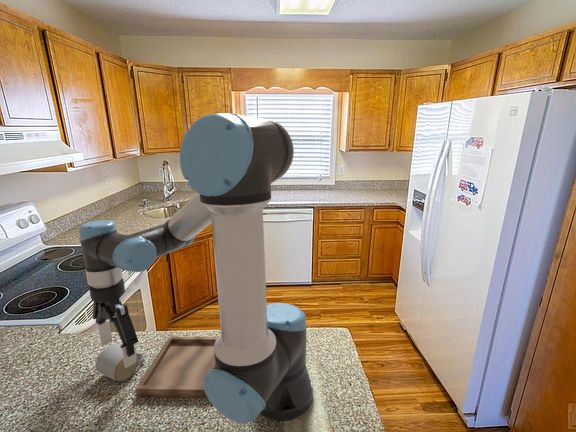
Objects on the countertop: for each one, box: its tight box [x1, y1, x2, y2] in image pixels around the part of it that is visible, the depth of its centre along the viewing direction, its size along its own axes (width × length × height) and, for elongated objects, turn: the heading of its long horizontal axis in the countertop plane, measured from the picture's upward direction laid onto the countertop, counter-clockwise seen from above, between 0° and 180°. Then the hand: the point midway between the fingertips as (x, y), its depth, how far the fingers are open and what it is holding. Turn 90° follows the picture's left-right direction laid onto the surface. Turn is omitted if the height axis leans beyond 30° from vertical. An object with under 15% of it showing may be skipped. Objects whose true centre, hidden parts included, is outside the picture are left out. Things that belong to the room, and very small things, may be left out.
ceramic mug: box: [95, 343, 146, 382], centre depth 80 cm, size 11×8×8 cm
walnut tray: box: [135, 336, 219, 399], centre depth 81 cm, size 20×20×2 cm
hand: (118, 353), depth 79 cm, fingers open, 13 cm apart
